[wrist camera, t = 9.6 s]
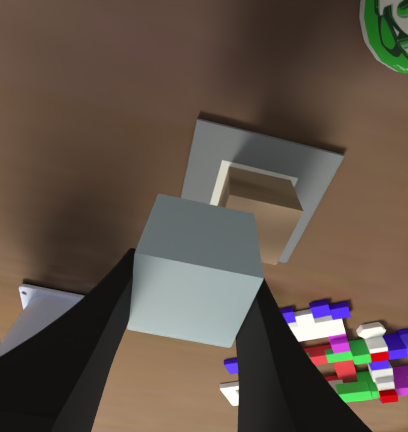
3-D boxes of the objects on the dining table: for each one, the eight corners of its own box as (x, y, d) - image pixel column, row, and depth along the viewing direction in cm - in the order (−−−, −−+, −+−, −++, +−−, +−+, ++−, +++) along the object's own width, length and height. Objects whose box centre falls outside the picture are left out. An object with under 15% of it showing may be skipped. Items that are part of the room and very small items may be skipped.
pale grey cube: (229, 279, 16) (230, 348, 12) (148, 263, 15) (127, 329, 12) (254, 213, 13) (263, 278, 10) (158, 193, 13) (134, 252, 9)
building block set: (429, 273, 25) (465, 316, 21) (429, 384, 35) (453, 426, 32) (179, 325, 32) (173, 365, 28) (239, 406, 42) (240, 443, 38)
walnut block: (268, 229, 22) (276, 265, 19) (213, 217, 22) (211, 251, 19) (290, 180, 20) (303, 211, 17) (228, 166, 20) (229, 194, 16)
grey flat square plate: (285, 259, 25) (286, 263, 24) (173, 235, 24) (172, 238, 24) (342, 153, 19) (344, 156, 19) (197, 117, 18) (196, 119, 18)
